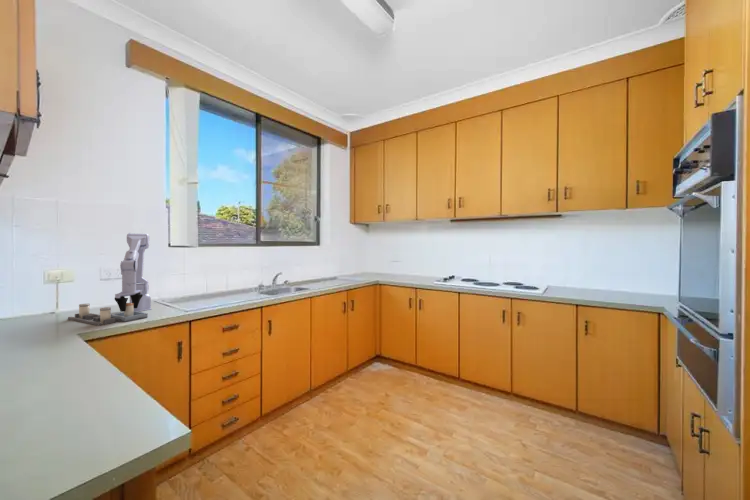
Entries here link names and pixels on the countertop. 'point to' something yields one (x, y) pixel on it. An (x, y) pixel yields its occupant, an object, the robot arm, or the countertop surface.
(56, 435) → the countertop surface
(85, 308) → the cream capsule cylinder
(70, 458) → the countertop surface
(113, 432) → the countertop surface
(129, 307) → the cylinder
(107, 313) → the fuse
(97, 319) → the clip rail
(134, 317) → the tray
